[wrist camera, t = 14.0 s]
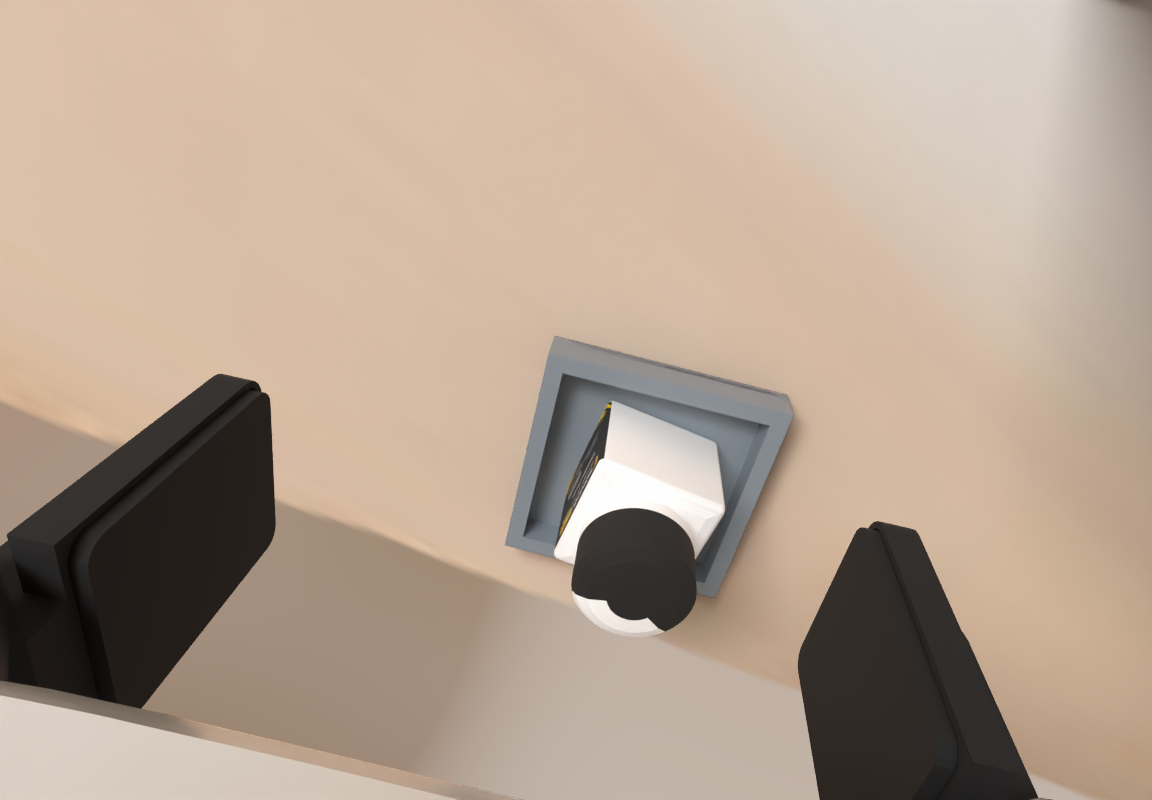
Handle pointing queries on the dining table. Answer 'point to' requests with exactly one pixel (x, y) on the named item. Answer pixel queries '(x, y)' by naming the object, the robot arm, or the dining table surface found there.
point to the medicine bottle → (639, 521)
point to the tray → (675, 395)
